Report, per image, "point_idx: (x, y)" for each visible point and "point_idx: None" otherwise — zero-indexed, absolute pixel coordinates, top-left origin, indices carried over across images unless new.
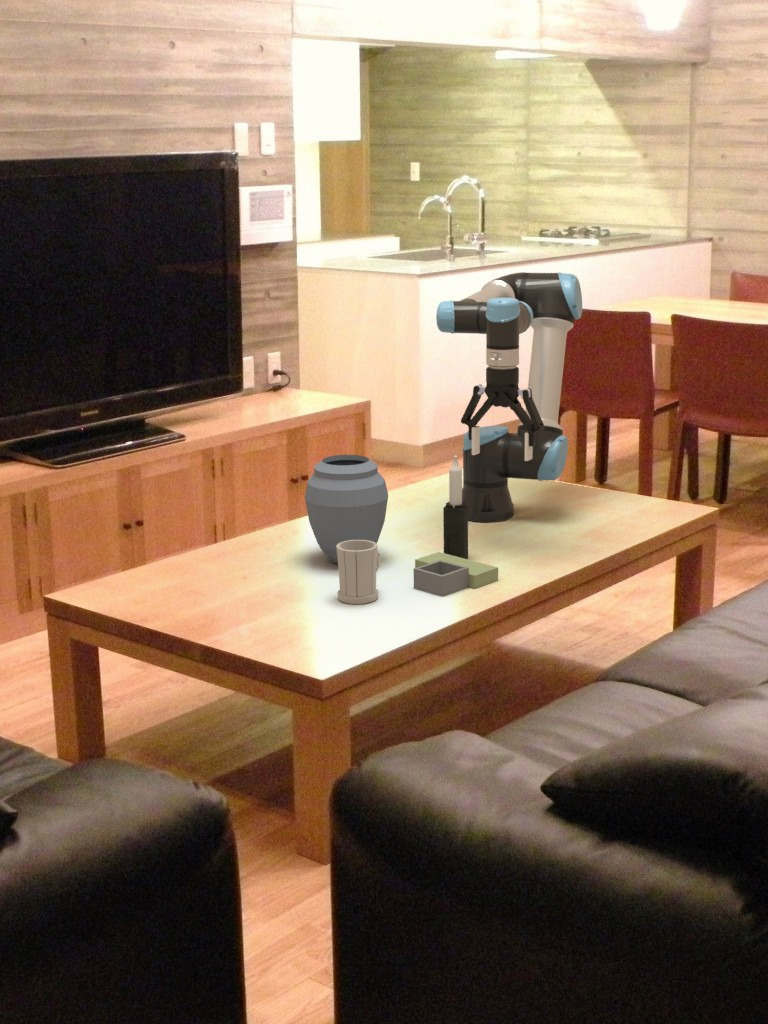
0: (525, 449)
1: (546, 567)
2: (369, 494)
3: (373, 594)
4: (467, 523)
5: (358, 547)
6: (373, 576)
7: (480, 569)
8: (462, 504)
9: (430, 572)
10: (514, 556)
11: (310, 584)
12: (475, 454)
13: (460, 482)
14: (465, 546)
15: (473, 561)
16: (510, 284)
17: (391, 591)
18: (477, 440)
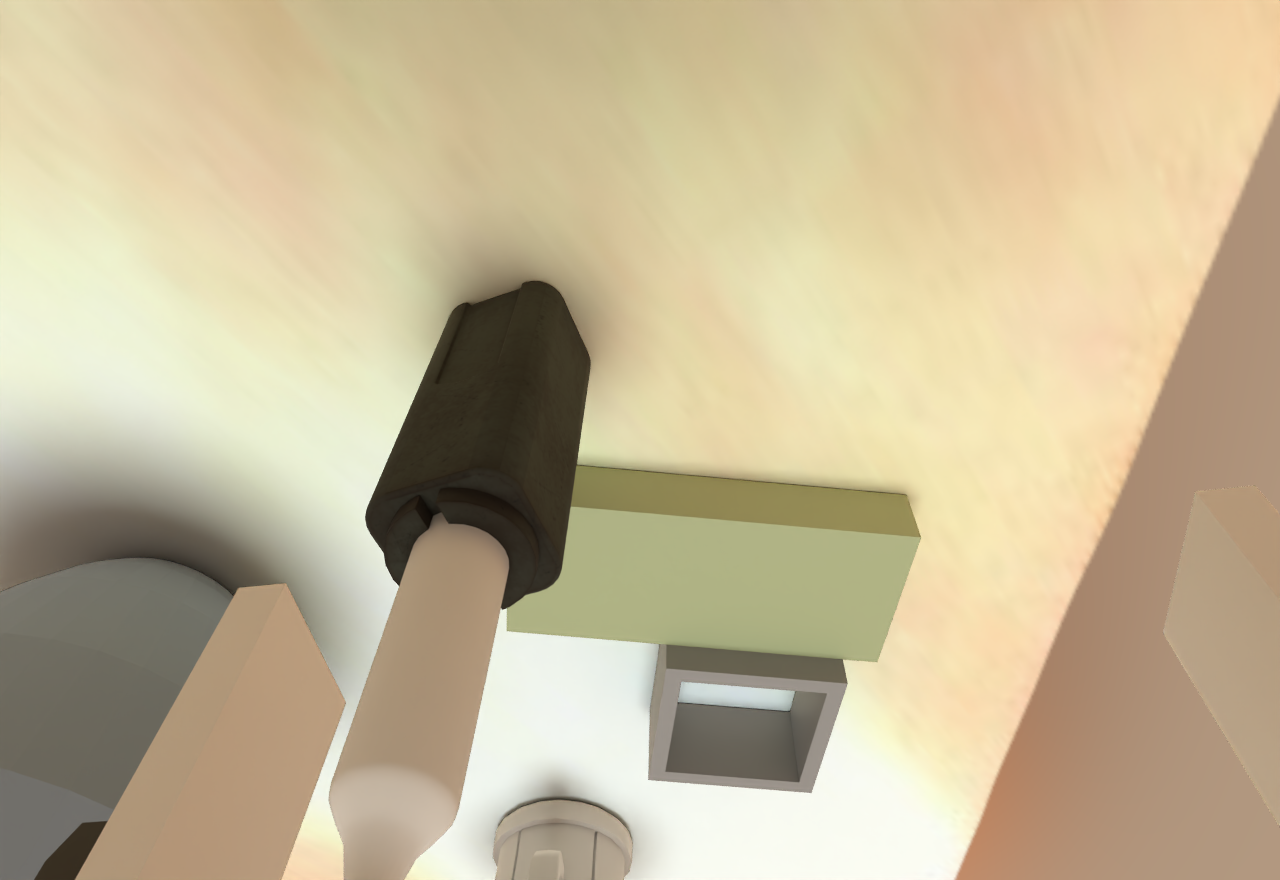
0: (1273, 785)
1: (1064, 189)
2: None
3: (625, 857)
4: (542, 420)
5: None
6: None
7: (857, 596)
8: (517, 555)
9: (738, 782)
10: (781, 111)
11: (332, 821)
12: (333, 685)
13: (478, 708)
14: (576, 384)
15: (759, 527)
16: None
17: (606, 760)
18: (231, 828)
